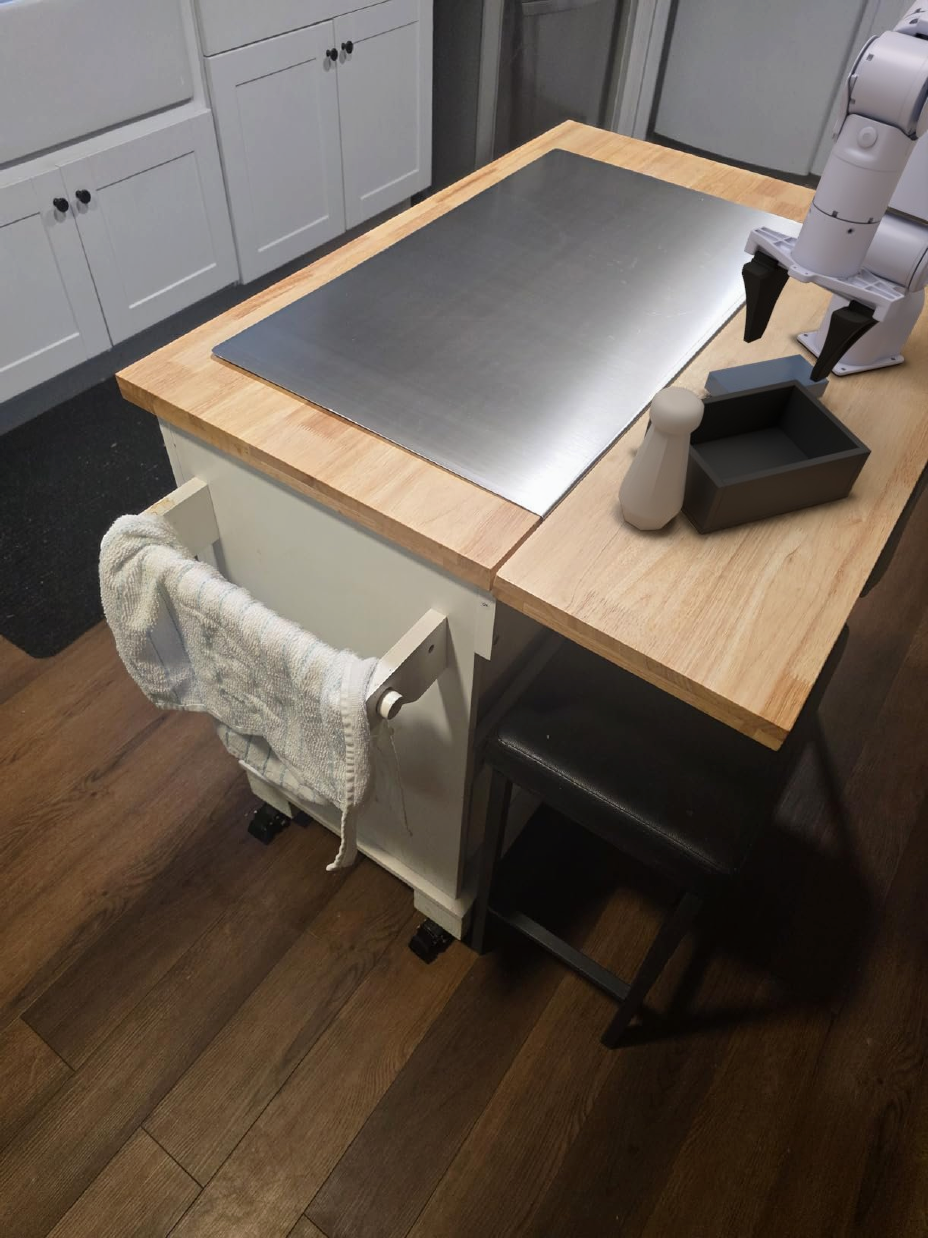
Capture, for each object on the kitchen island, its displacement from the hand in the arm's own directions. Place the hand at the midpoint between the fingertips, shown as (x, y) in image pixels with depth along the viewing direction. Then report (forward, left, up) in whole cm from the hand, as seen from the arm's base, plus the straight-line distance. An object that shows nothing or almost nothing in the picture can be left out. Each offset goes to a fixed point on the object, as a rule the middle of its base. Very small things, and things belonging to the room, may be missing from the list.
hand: (784, 358), depth 81 cm
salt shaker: (+16, +6, -10) cm, 20 cm away
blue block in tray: (-5, -6, -10) cm, 12 cm away
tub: (+4, +4, -10) cm, 11 cm away
